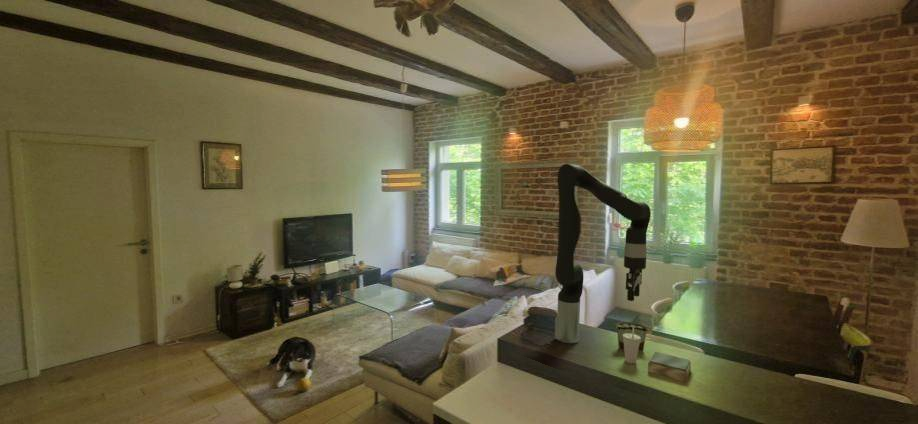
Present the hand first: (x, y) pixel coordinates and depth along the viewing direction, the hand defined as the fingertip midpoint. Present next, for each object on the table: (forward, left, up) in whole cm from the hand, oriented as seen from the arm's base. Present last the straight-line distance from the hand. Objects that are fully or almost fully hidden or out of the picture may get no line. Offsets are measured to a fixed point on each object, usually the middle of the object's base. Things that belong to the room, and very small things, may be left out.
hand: (633, 298), depth 146 cm
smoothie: (0, 0, -24) cm, 24 cm away
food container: (-4, +14, -24) cm, 28 cm away
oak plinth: (+13, 0, -24) cm, 27 cm away
